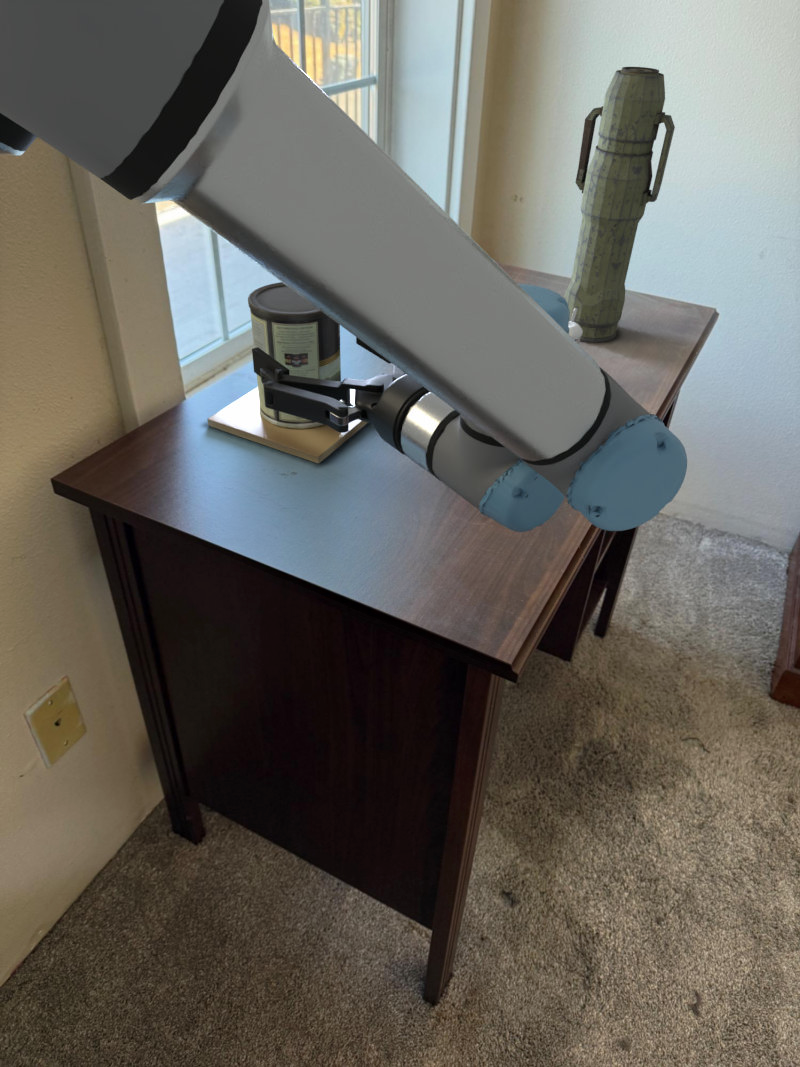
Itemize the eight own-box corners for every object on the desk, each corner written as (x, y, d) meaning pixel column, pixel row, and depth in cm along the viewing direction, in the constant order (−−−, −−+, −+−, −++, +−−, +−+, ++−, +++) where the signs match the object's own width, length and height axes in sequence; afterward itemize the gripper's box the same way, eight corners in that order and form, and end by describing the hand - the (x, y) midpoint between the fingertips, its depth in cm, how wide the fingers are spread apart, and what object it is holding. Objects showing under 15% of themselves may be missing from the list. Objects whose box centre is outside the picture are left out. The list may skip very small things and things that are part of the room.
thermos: (558, 313, 122) (602, 61, 100) (631, 328, 118) (692, 70, 96) (542, 332, 115) (585, 68, 94) (618, 349, 112) (681, 77, 90)
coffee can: (319, 382, 98) (315, 275, 89) (357, 417, 91) (356, 304, 82) (245, 399, 93) (233, 288, 85) (279, 437, 86) (269, 321, 78)
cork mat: (318, 464, 84) (318, 456, 84) (208, 425, 90) (206, 418, 89) (388, 406, 95) (388, 399, 95) (285, 375, 101) (285, 368, 100)
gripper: (318, 498, 67) (212, 404, 80) (516, 421, 80) (396, 350, 93) (315, 426, 63) (203, 338, 76) (525, 356, 75) (398, 291, 88)
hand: (309, 345), depth 84 cm, fingers open, 13 cm apart
